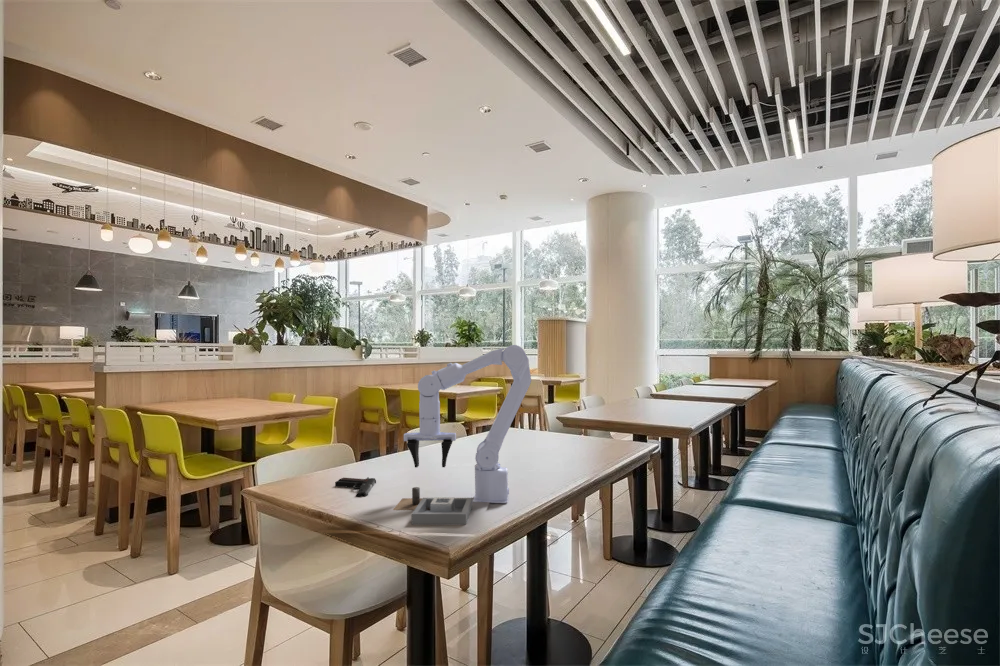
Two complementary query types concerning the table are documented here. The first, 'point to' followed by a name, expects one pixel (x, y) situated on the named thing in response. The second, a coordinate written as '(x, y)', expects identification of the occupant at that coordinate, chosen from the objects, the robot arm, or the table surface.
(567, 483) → the table surface
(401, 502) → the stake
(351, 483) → the handgun
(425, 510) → the tray
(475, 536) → the table surface
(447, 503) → the collar
